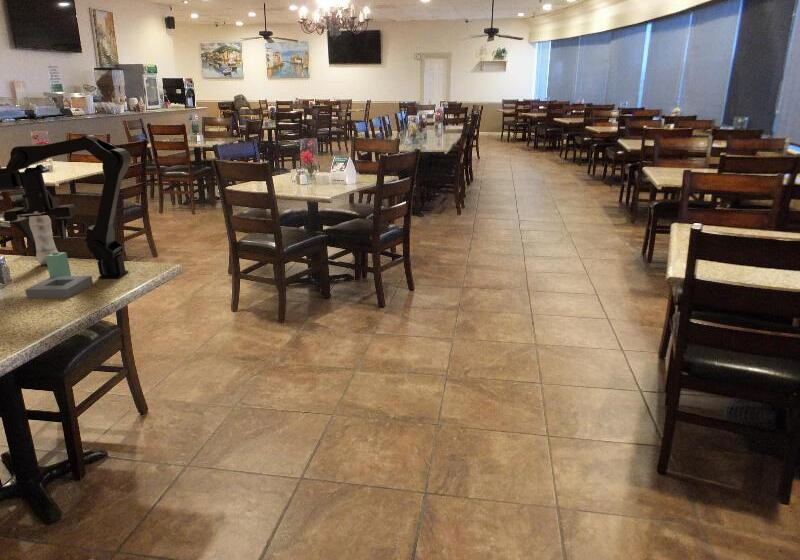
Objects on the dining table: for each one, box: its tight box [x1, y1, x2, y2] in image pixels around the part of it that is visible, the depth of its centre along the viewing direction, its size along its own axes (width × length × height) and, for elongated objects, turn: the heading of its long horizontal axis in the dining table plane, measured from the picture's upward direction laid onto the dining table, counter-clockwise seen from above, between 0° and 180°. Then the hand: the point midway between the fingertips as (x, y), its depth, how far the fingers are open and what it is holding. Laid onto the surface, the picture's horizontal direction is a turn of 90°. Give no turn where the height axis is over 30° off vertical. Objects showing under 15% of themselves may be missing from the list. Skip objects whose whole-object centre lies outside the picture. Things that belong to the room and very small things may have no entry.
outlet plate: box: [25, 275, 94, 299], centre depth 166 cm, size 12×12×2 cm
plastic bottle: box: [28, 212, 58, 265], centre depth 191 cm, size 6×7×20 cm
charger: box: [45, 250, 72, 278], centre depth 176 cm, size 4×4×9 cm
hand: (48, 240), depth 174 cm, fingers open, 9 cm apart
